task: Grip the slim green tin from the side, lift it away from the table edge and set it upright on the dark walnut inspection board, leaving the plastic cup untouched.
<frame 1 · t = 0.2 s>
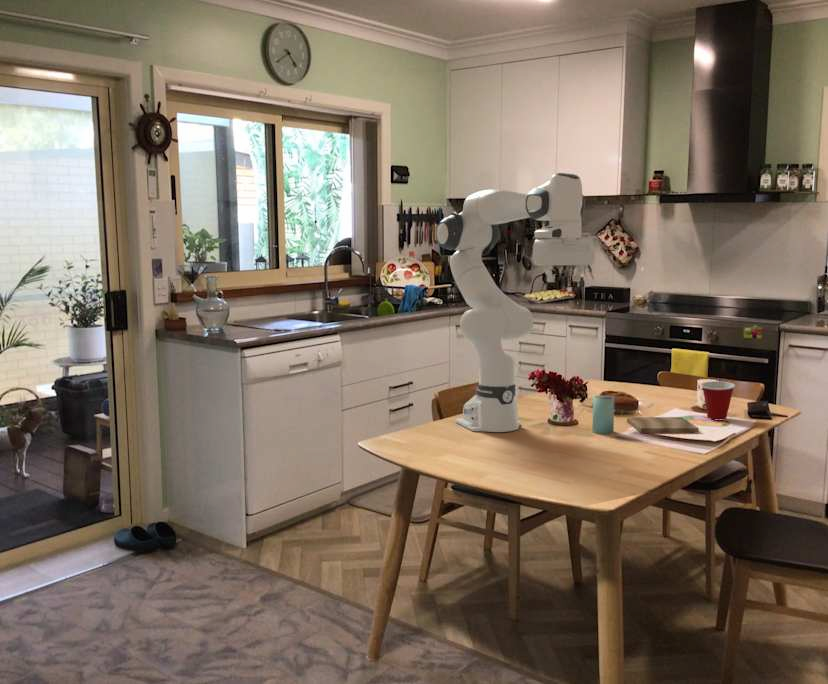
hand: (563, 281, 226), 48 cm above the table, tool pointing down, fingers open, 8 cm apart
plastic cup: (716, 419, 270), on the table
inspection board: (661, 427, 258), on the table
green tin: (602, 432, 252), on the table
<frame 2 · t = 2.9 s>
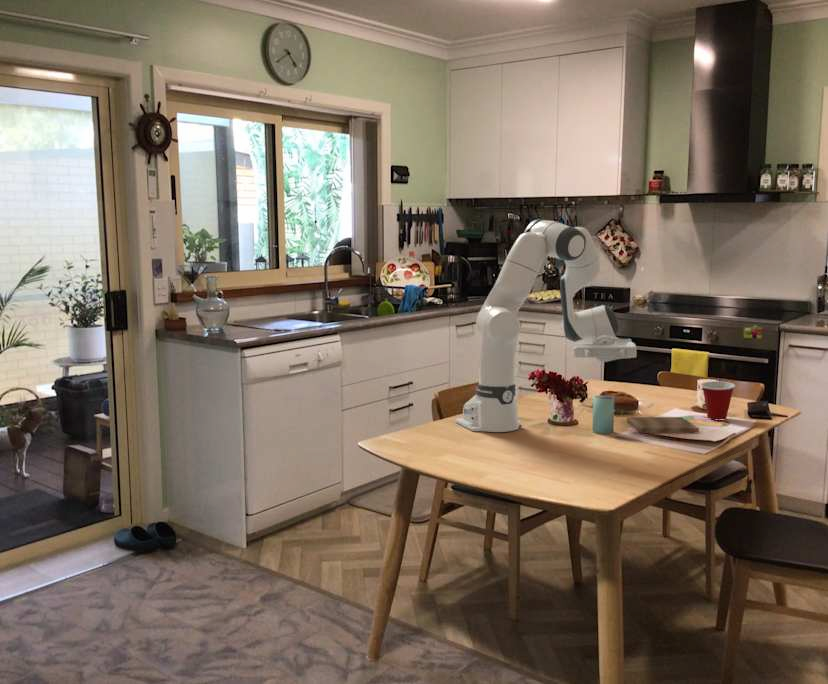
hand: (604, 354, 259), 23 cm above the table, tool horizontal, fingers open, 8 cm apart
nothing on the table moved.
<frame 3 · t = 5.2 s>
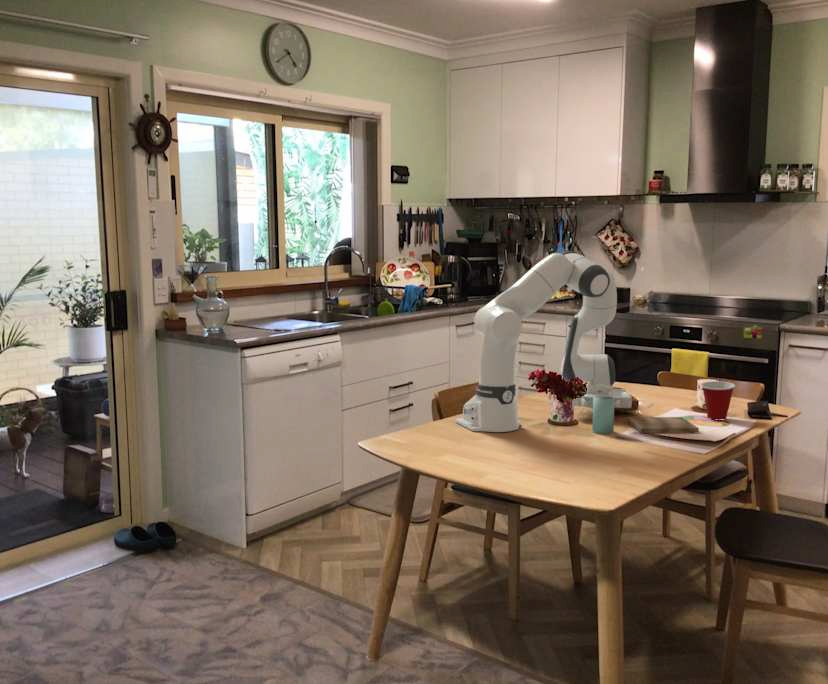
hand: (601, 404, 262), 6 cm above the table, tool horizontal, fingers open, 8 cm apart
nothing on the table moved.
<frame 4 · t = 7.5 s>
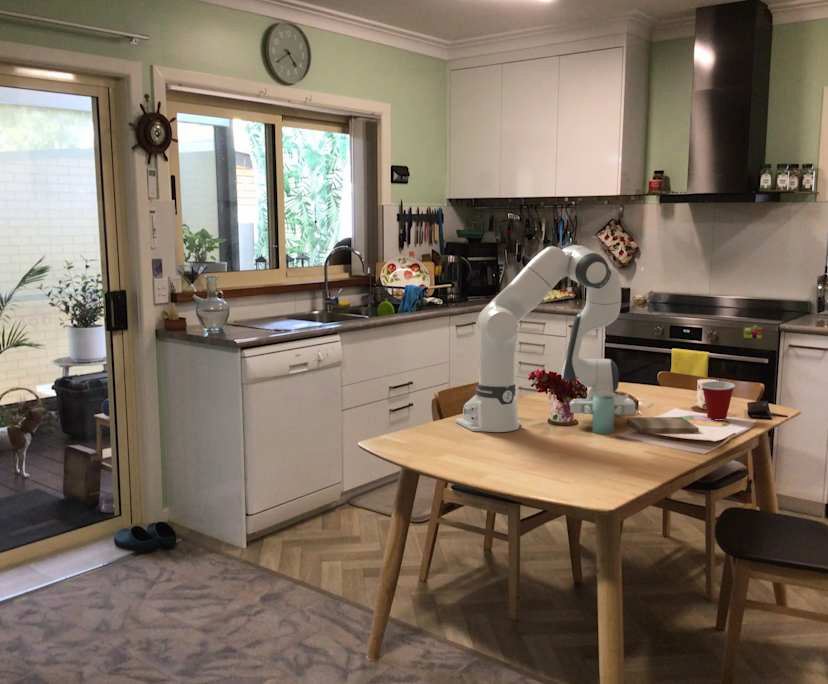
hand: (603, 412, 250), 7 cm above the table, tool horizontal, fingers closed on green tin, 6 cm apart
green tin: (602, 431, 252), on the table, touching gripper
everything else where it was.
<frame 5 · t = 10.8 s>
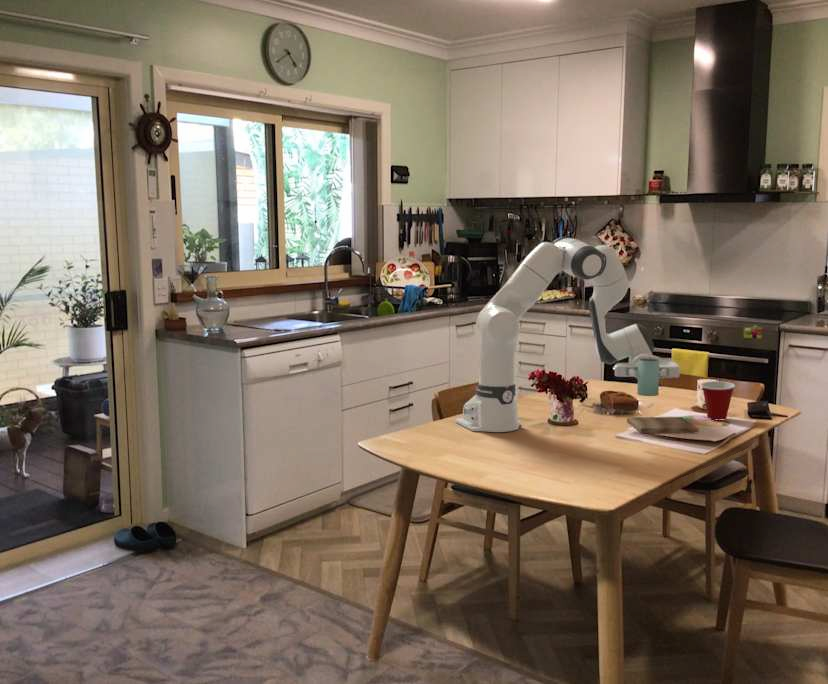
hand: (648, 374, 253), 18 cm above the table, tool horizontal, fingers closed on green tin, 6 cm apart
green tin: (647, 394, 255), point 11 cm above the table, touching gripper
everything else where it was.
when the fingers open (9 cm above the table, at t = 13.7 s): green tin drops 1 cm, resting on inspection board.
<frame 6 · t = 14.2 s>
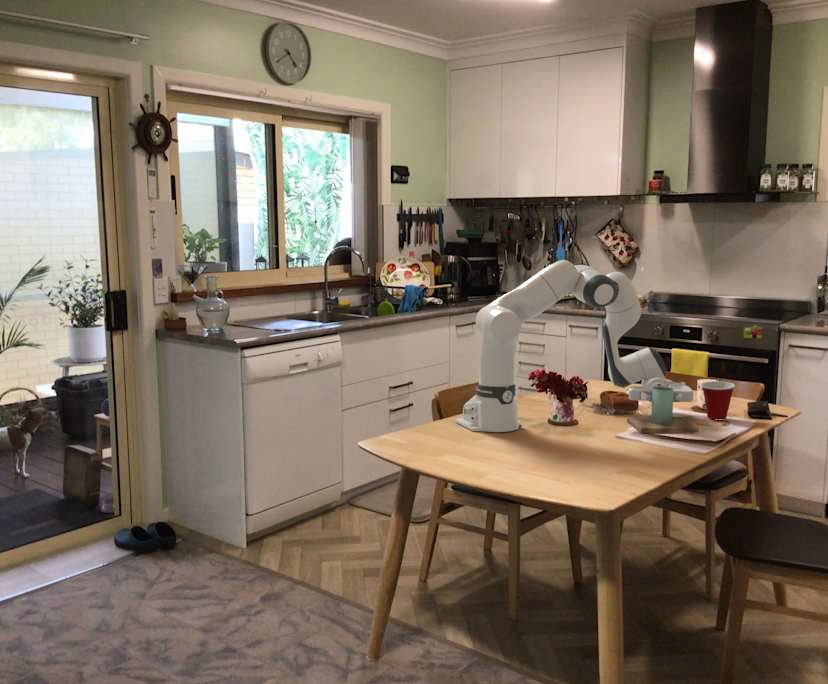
hand: (662, 398, 256), 9 cm above the table, tool horizontal, fingers open, 8 cm apart
green tin: (661, 422, 258), point 2 cm above the table, touching inspection board
everything else where it was.
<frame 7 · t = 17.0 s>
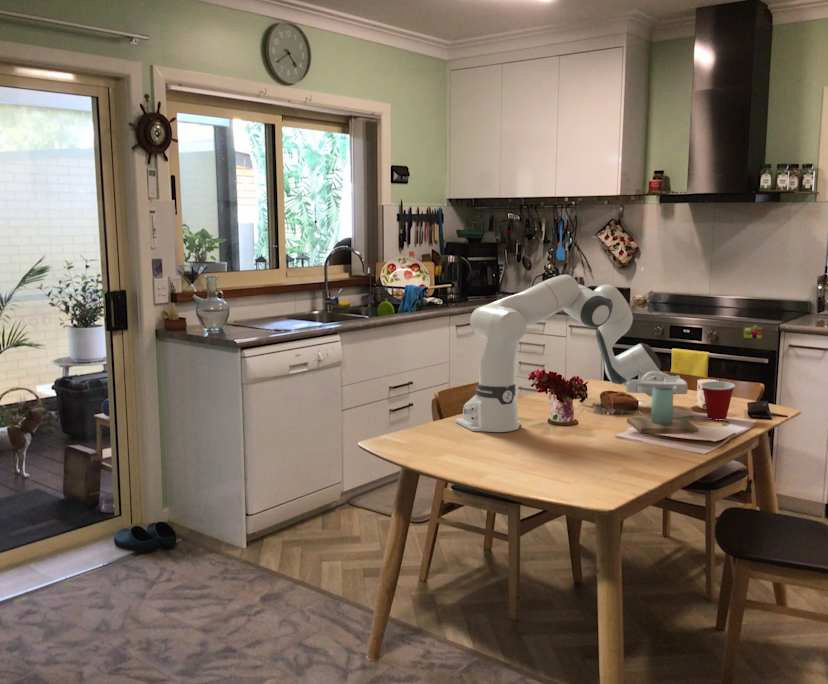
hand: (658, 390, 269), 10 cm above the table, tool horizontal, fingers open, 8 cm apart
nothing on the table moved.
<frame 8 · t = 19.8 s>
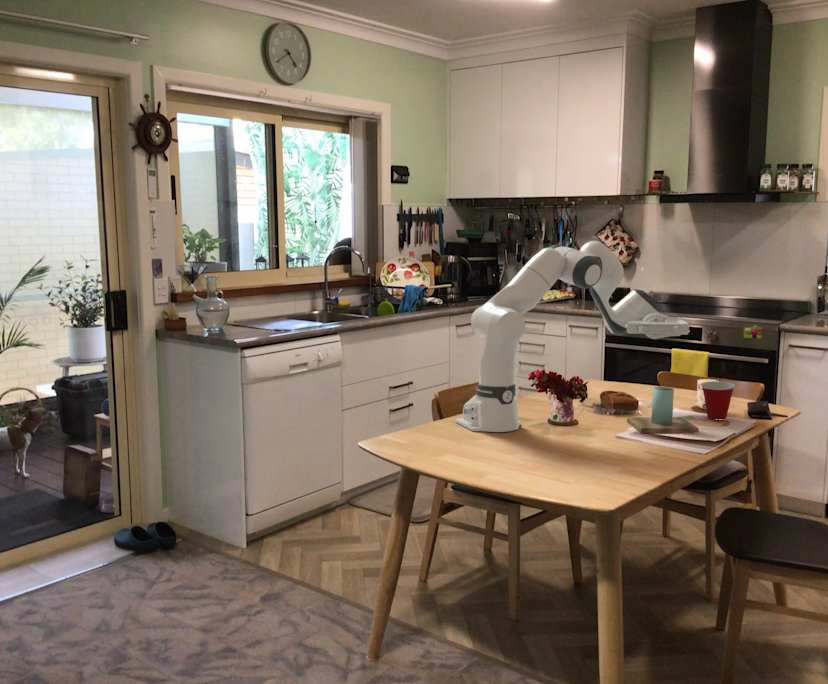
hand: (659, 330, 266), 30 cm above the table, tool horizontal, fingers open, 8 cm apart
nothing on the table moved.
at the end: green tin inside the target area on the inspection board (0.1 cm from its centre), point 1.5 cm above the inspection board's base; green tin tilted 1°; the gripper is holding nothing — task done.
